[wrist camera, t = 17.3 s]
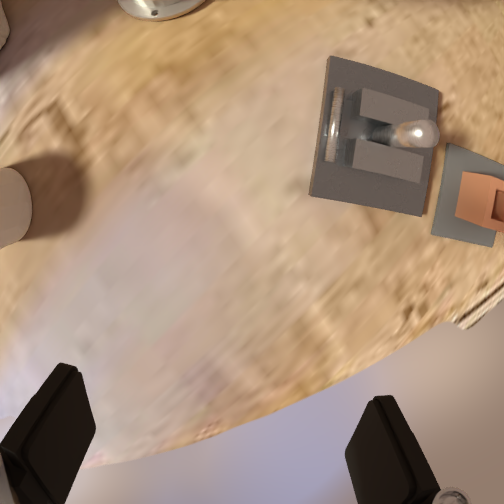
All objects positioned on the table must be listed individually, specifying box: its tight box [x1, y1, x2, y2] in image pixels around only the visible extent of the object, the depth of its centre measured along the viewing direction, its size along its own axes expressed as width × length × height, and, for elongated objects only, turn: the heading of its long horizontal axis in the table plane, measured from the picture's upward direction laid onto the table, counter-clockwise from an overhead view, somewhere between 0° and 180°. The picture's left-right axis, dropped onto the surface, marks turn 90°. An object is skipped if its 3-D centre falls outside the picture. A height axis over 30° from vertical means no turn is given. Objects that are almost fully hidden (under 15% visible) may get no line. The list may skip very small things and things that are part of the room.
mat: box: [431, 143, 504, 247], centre depth 34 cm, size 12×12×1 cm
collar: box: [455, 171, 504, 233], centre depth 31 cm, size 6×6×6 cm
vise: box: [309, 56, 440, 217], centre depth 27 cm, size 16×14×12 cm
